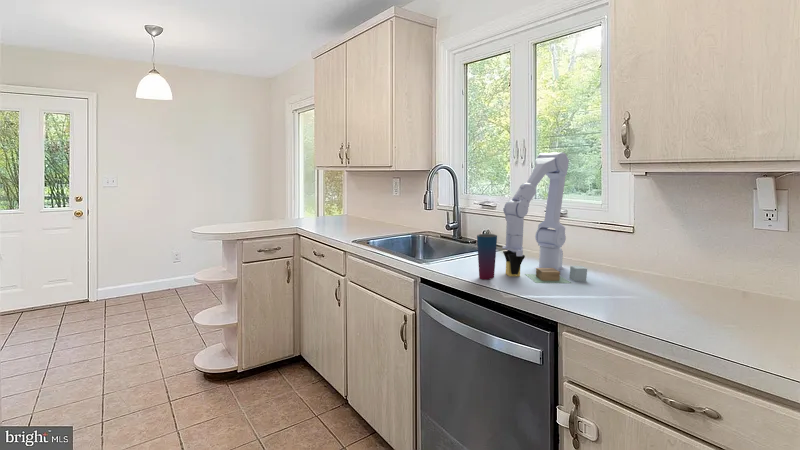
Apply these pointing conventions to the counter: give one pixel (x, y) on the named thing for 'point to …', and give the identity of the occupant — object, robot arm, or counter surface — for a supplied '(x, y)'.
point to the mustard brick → (508, 270)
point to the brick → (578, 273)
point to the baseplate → (537, 280)
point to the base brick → (548, 274)
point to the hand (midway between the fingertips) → (512, 272)
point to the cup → (486, 255)
